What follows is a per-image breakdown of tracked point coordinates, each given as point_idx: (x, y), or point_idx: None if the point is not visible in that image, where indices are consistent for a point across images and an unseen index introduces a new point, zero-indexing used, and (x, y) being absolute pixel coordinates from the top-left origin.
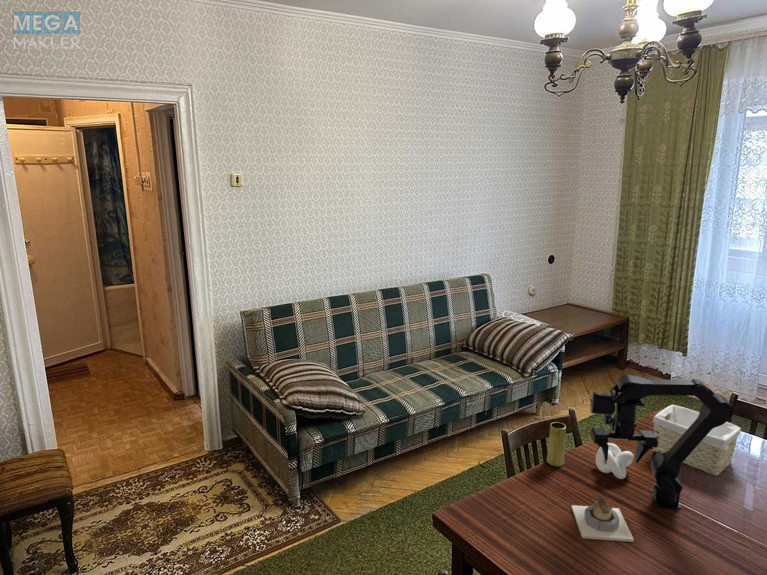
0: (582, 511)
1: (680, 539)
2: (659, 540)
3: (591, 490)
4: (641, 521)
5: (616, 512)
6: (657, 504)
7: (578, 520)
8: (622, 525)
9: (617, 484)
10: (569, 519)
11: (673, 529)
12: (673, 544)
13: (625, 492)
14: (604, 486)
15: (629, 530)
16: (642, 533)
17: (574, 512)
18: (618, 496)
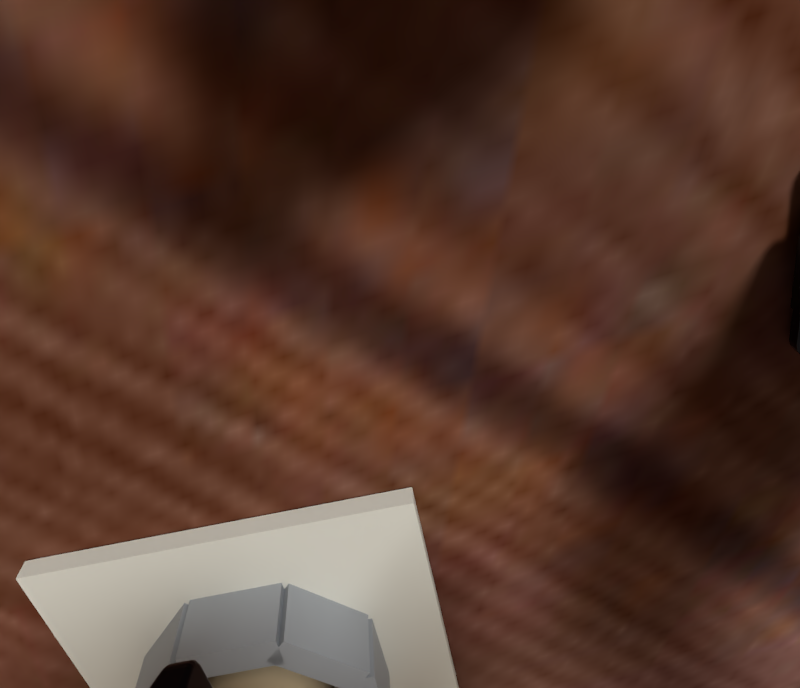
0: (120, 618)
1: (768, 627)
2: (628, 667)
3: (154, 260)
4: (567, 548)
5: (388, 555)
6: (792, 317)
7: None
8: (416, 661)
9: (462, 21)
10: (50, 670)
11: (770, 559)
12: (701, 672)
13: (528, 182)
14: (296, 127)
15: (456, 684)
16: (539, 646)
17: (62, 643)
18: (438, 283)
